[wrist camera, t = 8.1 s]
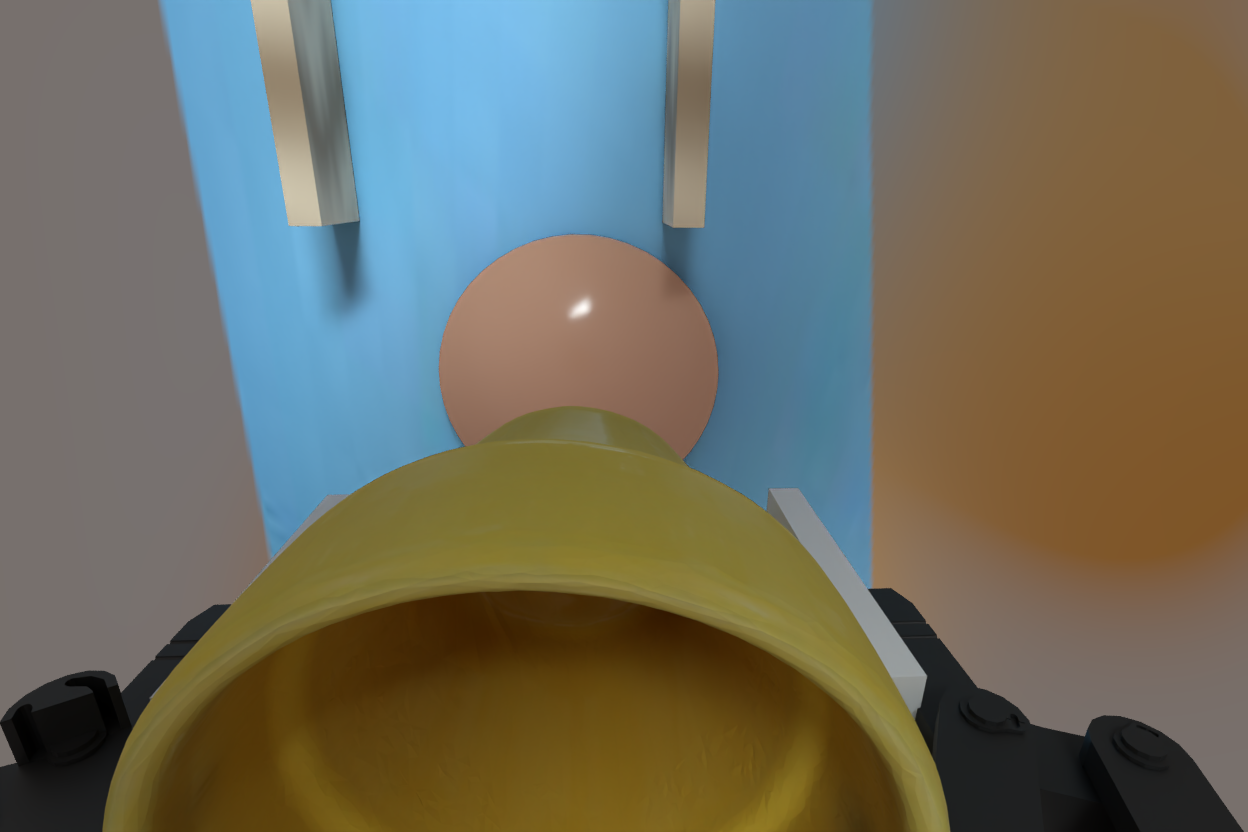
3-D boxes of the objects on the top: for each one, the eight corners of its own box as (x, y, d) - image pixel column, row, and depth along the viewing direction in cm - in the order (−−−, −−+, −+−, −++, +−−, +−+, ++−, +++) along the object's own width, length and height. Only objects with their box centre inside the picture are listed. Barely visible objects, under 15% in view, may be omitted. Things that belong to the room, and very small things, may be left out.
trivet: (487, 189, 27) (483, 189, 26) (759, 293, 29) (763, 295, 28) (413, 451, 31) (408, 458, 30) (657, 526, 33) (658, 534, 32)
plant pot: (382, 670, 18) (163, 1164, 9) (362, 317, 15) (-33, 530, 5) (733, 682, 19) (864, 1151, 10) (792, 348, 15) (1087, 583, 6)
